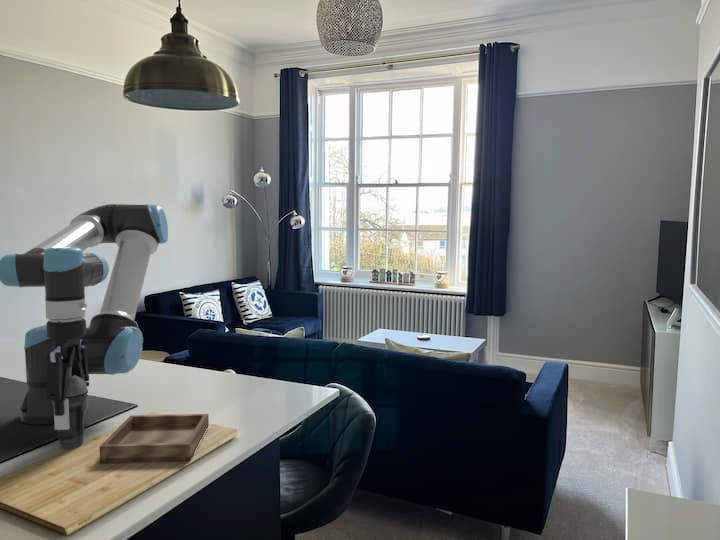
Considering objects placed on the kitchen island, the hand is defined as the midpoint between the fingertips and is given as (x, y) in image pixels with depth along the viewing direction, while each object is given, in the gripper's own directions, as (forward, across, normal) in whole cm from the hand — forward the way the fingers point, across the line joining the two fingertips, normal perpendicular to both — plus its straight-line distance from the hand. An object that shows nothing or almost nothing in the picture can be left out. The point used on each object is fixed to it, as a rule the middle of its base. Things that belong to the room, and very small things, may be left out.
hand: (70, 422), depth 119 cm
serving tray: (+5, -1, -19) cm, 20 cm away
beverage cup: (+5, 0, 0) cm, 5 cm away
